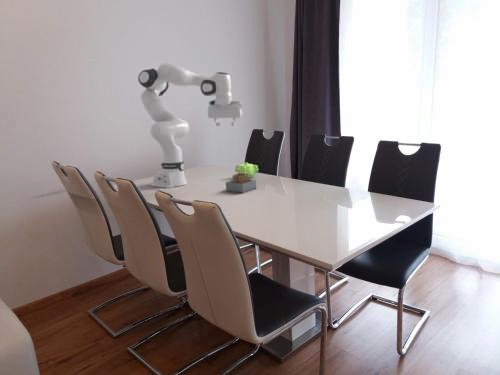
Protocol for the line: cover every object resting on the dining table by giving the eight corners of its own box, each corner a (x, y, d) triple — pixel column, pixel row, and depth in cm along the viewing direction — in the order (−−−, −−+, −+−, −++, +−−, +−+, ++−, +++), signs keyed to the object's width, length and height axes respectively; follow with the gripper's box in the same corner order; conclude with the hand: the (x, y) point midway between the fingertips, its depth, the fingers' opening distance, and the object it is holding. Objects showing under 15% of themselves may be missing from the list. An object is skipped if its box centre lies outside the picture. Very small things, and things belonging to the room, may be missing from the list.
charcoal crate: (226, 190, 230) (225, 182, 229) (239, 186, 239) (239, 178, 238) (242, 193, 223) (242, 184, 222) (256, 188, 232) (255, 180, 231)
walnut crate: (233, 189, 230) (232, 175, 229) (240, 186, 235) (239, 173, 233) (241, 190, 227) (241, 176, 225) (248, 187, 231) (247, 174, 229)
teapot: (259, 177, 260) (258, 162, 257) (244, 180, 254) (243, 165, 252) (249, 175, 269) (249, 160, 267) (234, 177, 264) (233, 162, 261)
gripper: (243, 100, 234) (244, 124, 237) (210, 101, 240) (211, 125, 244) (239, 101, 228) (240, 126, 232) (205, 102, 235) (207, 126, 238)
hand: (225, 125), depth 238 cm, fingers open, 8 cm apart
